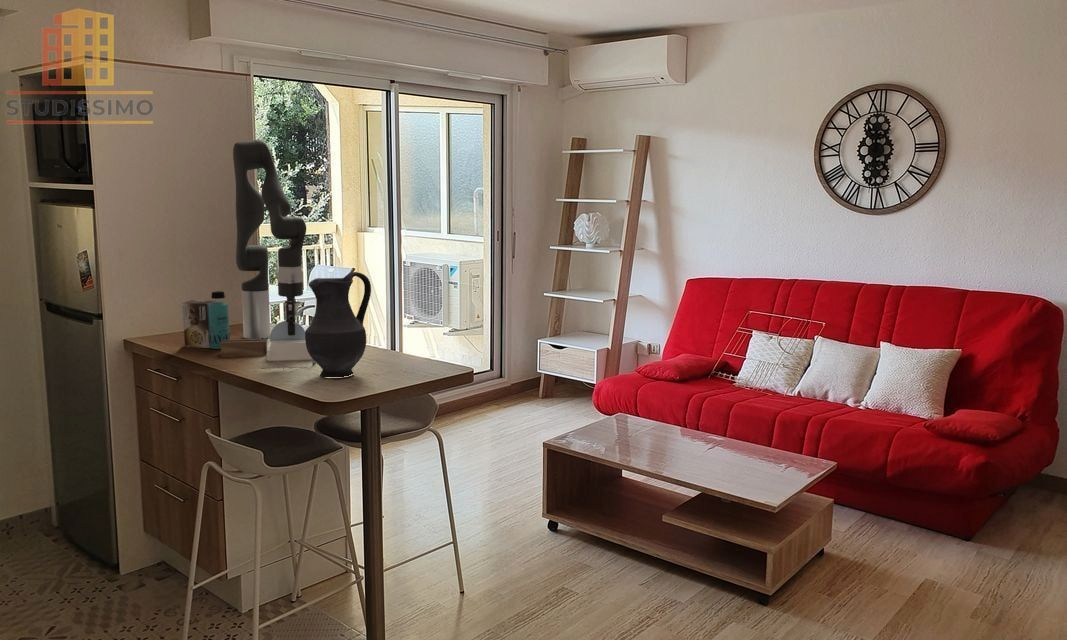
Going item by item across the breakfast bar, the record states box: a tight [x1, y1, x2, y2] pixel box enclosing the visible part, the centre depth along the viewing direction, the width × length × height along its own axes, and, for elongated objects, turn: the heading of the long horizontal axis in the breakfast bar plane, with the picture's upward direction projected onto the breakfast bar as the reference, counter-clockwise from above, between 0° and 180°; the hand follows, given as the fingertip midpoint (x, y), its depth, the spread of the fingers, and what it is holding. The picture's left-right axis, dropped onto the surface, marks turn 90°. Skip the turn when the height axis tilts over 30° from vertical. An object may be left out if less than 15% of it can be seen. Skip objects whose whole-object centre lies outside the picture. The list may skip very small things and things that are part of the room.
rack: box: [266, 340, 317, 364], centre depth 265 cm, size 13×15×6 cm
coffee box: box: [181, 299, 215, 349], centre depth 278 cm, size 9×6×16 cm
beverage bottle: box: [208, 290, 231, 350], centre depth 275 cm, size 6×7×20 cm
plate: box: [269, 320, 306, 343], centre depth 264 cm, size 2×11×11 cm, turn 104°
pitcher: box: [305, 271, 372, 378], centre depth 244 cm, size 17×21×30 cm
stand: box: [220, 338, 268, 358], centre depth 266 cm, size 6×14×6 cm, turn 104°
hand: (291, 333), depth 264 cm, fingers open, 5 cm apart
